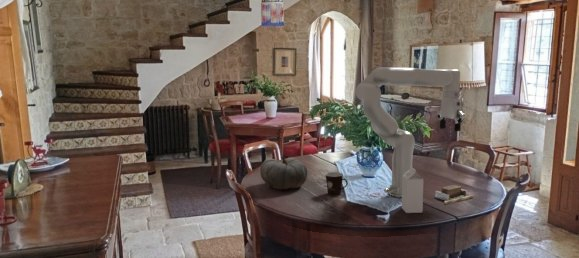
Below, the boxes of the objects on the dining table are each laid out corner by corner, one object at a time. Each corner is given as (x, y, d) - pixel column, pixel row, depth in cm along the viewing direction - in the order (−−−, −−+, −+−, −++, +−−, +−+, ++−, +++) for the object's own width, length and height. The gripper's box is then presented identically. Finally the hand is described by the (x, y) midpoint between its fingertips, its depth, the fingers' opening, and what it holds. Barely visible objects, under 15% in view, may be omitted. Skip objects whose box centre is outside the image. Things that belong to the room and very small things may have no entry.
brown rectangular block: (460, 196, 210) (461, 186, 209) (448, 200, 205) (448, 189, 204) (453, 194, 213) (454, 184, 212) (441, 197, 209) (441, 187, 208)
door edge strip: (445, 204, 199) (445, 201, 199) (444, 203, 200) (444, 201, 200) (473, 197, 207) (473, 195, 207) (471, 197, 208) (471, 195, 208)
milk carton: (417, 207, 195) (418, 166, 192) (422, 213, 188) (423, 170, 185) (401, 207, 195) (402, 166, 192) (406, 213, 188) (407, 170, 185)
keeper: (447, 201, 203) (448, 195, 202) (434, 196, 210) (434, 190, 209) (467, 197, 208) (467, 191, 208) (454, 192, 216) (454, 186, 215)
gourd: (248, 181, 231) (254, 150, 229) (282, 180, 249) (287, 150, 247) (280, 196, 214) (287, 162, 212) (314, 193, 232) (320, 161, 230)
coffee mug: (322, 192, 220) (322, 173, 218) (338, 190, 223) (338, 171, 221) (333, 199, 209) (333, 178, 208) (349, 196, 212) (349, 176, 211)
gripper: (470, 95, 207) (469, 131, 210) (443, 93, 222) (442, 126, 225) (458, 96, 204) (457, 133, 206) (432, 94, 219) (431, 128, 222)
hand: (449, 129), depth 216 cm, fingers open, 9 cm apart
